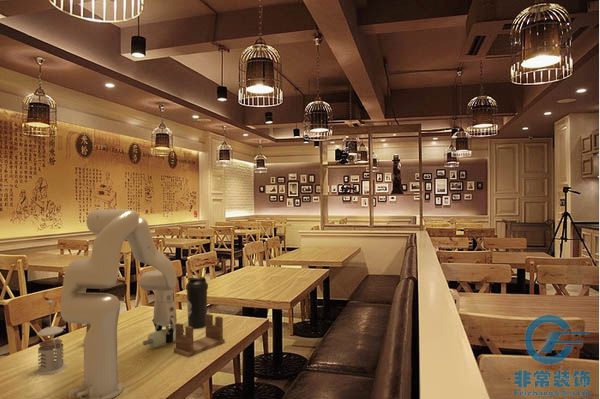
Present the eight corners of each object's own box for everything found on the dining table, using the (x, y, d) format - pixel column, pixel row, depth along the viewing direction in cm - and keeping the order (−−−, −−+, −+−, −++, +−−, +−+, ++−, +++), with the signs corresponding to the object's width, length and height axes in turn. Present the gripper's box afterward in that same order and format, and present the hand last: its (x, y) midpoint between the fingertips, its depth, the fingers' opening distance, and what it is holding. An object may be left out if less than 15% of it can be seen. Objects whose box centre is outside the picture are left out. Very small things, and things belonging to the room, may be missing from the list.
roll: (148, 352, 163) (148, 337, 163) (139, 349, 166) (139, 334, 166) (187, 339, 178) (187, 325, 178) (178, 336, 182) (178, 322, 182)
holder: (188, 357, 158) (188, 328, 158) (173, 352, 164) (173, 324, 164) (224, 342, 174) (224, 316, 174) (210, 338, 179) (209, 313, 179)
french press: (60, 361, 156) (59, 295, 155) (73, 369, 148) (72, 300, 148) (30, 370, 148) (29, 301, 148) (43, 379, 141) (41, 306, 140)
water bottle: (184, 324, 199) (184, 277, 199) (205, 321, 204) (205, 275, 203) (188, 330, 190) (187, 280, 190) (210, 327, 194) (209, 278, 194)
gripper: (184, 299, 170) (185, 342, 170) (159, 293, 180) (159, 334, 180) (169, 303, 164) (169, 348, 164) (144, 297, 174) (144, 339, 174)
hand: (164, 340), depth 172 cm, fingers closed on roll, 6 cm apart
